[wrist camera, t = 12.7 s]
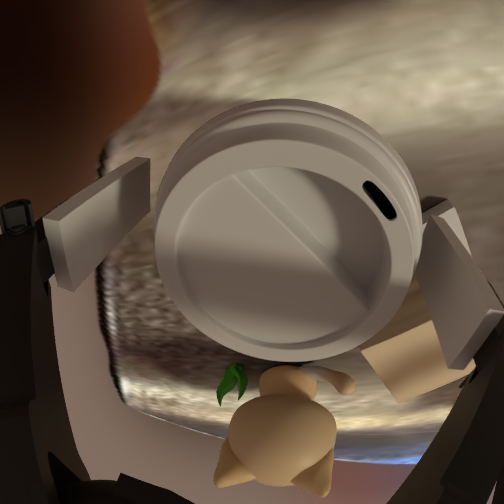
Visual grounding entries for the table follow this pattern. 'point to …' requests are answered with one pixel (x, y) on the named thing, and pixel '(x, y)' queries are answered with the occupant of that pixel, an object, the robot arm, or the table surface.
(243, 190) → the coffee cup
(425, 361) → the maple brick
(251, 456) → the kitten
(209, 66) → the table surface
